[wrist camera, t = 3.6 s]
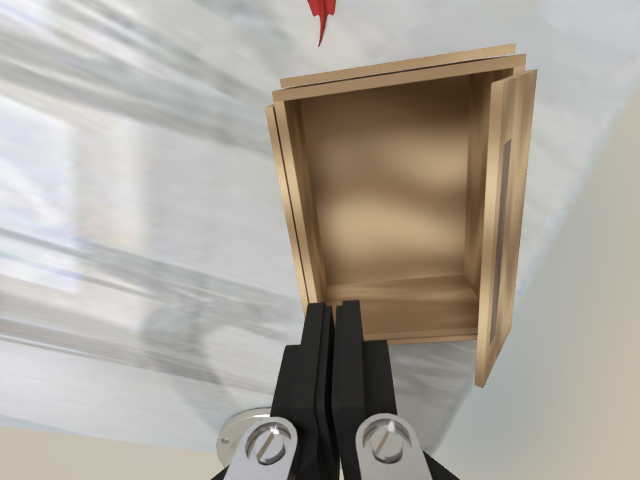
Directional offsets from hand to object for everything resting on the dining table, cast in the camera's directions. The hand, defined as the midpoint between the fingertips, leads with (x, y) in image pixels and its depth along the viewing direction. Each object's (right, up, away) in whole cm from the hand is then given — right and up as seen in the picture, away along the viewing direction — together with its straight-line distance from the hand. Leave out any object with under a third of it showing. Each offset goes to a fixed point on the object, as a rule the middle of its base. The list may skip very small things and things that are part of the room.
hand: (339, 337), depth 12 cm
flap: (+10, +4, +8) cm, 14 cm away
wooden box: (+4, +7, +15) cm, 17 cm away
